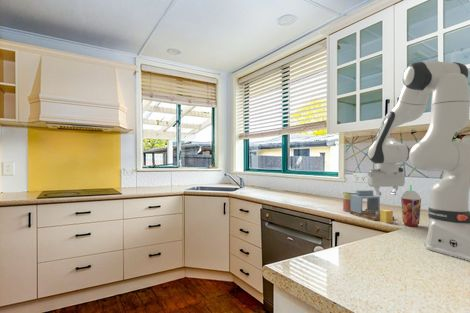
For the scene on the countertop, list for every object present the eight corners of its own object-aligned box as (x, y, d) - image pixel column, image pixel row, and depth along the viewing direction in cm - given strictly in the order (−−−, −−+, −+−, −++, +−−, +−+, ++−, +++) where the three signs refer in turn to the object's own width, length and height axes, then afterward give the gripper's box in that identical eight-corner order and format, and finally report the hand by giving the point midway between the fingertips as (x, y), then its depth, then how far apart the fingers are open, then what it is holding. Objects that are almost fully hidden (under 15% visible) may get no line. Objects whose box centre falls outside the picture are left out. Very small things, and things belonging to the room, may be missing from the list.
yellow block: (392, 222, 138) (392, 211, 138) (386, 223, 137) (386, 211, 137) (386, 220, 141) (386, 209, 141) (380, 221, 140) (380, 209, 140)
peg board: (394, 219, 144) (394, 211, 144) (374, 220, 141) (374, 212, 141) (368, 212, 163) (368, 205, 163) (350, 213, 160) (350, 206, 160)
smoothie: (424, 228, 127) (424, 186, 127) (405, 226, 128) (405, 185, 129) (416, 223, 135) (416, 184, 135) (398, 223, 137) (398, 184, 137)
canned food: (348, 208, 177) (348, 190, 177) (365, 211, 168) (365, 192, 168) (339, 210, 170) (339, 191, 170) (356, 213, 161) (356, 193, 161)
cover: (379, 212, 154) (379, 191, 154) (361, 213, 151) (361, 191, 151) (368, 209, 163) (368, 189, 163) (350, 210, 160) (350, 189, 160)
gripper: (374, 169, 134) (374, 196, 134) (407, 169, 139) (406, 195, 139) (365, 168, 140) (365, 194, 140) (397, 168, 145) (396, 193, 145)
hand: (386, 195), depth 139 cm, fingers open, 8 cm apart
